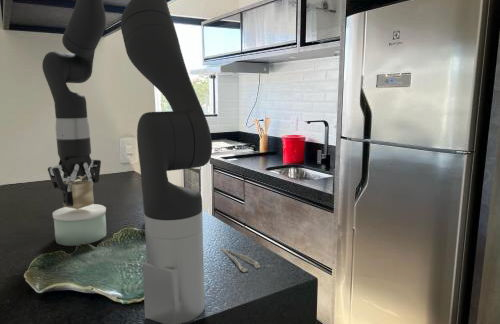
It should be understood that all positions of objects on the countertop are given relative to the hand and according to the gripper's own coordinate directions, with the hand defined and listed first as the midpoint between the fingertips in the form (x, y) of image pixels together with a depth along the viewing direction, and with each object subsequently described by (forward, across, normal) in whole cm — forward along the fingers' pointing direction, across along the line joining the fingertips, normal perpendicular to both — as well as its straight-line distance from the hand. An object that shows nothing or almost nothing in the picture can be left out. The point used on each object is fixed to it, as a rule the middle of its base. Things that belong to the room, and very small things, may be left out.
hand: (78, 202), depth 95 cm
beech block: (+1, 0, 0) cm, 1 cm away
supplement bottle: (+9, +17, -10) cm, 22 cm away
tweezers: (+10, +7, -40) cm, 42 cm away
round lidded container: (+9, 0, 0) cm, 9 cm away
